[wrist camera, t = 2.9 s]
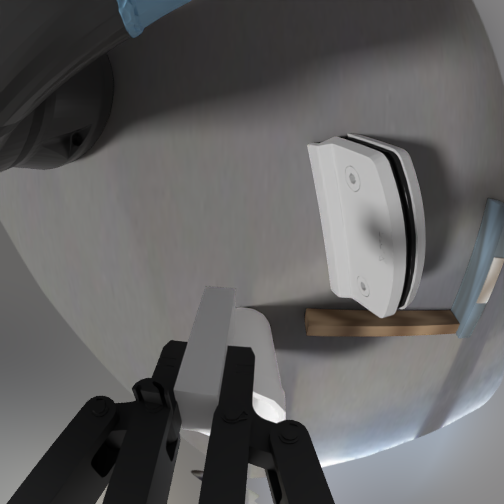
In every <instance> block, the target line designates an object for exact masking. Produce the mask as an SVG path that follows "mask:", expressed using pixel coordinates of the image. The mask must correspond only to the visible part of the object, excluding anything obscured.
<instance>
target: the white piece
mask: <svg viewBox="0 0 504 504" xmlns="http://www.w3.org/2000/svg"><path fill="white" fill-rule="evenodd" d="M307 147H308V151H309V156H310V161H311V167H312V172H313V177H314V182H315V188H316V193H317V199H318V205H319V211H320V217H321V223H322V229H323V235H324V242H325V248H326V255H327V262H328V270H329V277H330V285H331V290H332V291H333V292H334V293H335V294H336V295H337V296H338V297H342V298H353V299H354V300H356V301H357V302H358V303H360V304H361V305H363V306H364V307H365V308H367V309H368V310H370V311H371V312H372V313H374V314H375V315H377V316H378V317H379V318H384V317H387V316H391V315H393V314H395V312H396V310H397V309H405V308H406V307H407V306H408V305H409V304H410V303H411V302H412V301H413V299H414V297H415V295H416V293H417V290H418V287H419V284H420V281H421V277H422V272H423V267H424V259H425V246H426V233H425V218H424V209H423V202H422V197H421V192H420V187H419V183H418V180H417V176H416V172H415V169H414V166H413V163H412V160H411V158H410V156H409V154H408V152H407V151H406V150H404V149H402V148H399V147H396V146H393V145H391V144H388V143H385V142H382V141H379V140H375V139H372V138H369V137H366V136H363V135H359V134H348V137H347V138H346V139H343V138H340V137H337V136H335V137H332V138H330V139H328V140H326V141H323V142H321V143H310V144H307Z"/></svg>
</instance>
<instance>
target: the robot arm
mask: <svg viewBox="0 0 504 504" xmlns="http://www.w3.org/2000/svg"><path fill="white" fill-rule="evenodd" d="M190 1H191V0H0V172H2V171H4V170H7V169H9V168H12V167H18V168H30V169H42V170H45V169H53V168H57V167H60V166H62V165H65V164H67V163H70V162H72V161H74V160H76V159H78V158H79V157H81V156H82V155H83V154H85V153H86V152H87V151H88V150H89V149H90V148H91V147H92V145H93V144H94V143H95V142H96V140H97V139H98V137H99V136H100V134H101V132H102V131H103V129H104V127H105V124H106V122H107V119H108V117H109V113H110V110H111V106H112V100H113V89H114V82H113V73H112V68H111V64H110V61H109V59H108V56H107V54H106V52H108V51H109V50H111V49H112V48H114V47H115V46H117V45H118V44H120V43H122V42H123V41H125V40H127V39H128V38H130V37H132V38H135V37H137V36H139V35H140V34H141V33H142V32H143V30H144V28H145V27H147V26H148V25H150V24H151V23H153V22H154V21H156V20H158V19H159V18H161V17H163V16H164V15H166V14H168V13H170V12H171V11H173V10H175V9H177V8H179V7H181V6H182V5H184V4H186V3H188V2H190ZM235 302H236V288H224V287H211V286H206V287H205V290H204V293H203V296H202V299H201V302H200V305H199V308H198V312H197V315H196V318H195V321H194V324H193V327H192V331H191V334H190V337H189V340H188V342H182V341H174V340H170V341H169V342H168V343H167V344H166V345H165V346H164V347H163V349H162V352H161V355H160V358H159V360H158V363H157V365H156V368H155V371H154V373H153V376H152V378H146V379H142V380H140V381H138V382H137V383H135V385H134V386H133V388H132V390H133V393H134V396H135V398H136V401H133V402H127V403H114V401H113V400H111V399H110V398H109V397H106V396H96V397H93V398H91V399H90V400H89V401H88V402H86V404H85V405H84V406H83V407H82V408H81V410H80V411H79V412H78V413H77V415H76V416H75V417H74V419H72V421H71V422H70V423H69V424H68V426H67V427H66V428H65V430H64V431H63V432H62V433H61V434H60V436H59V437H58V438H57V439H56V441H55V442H54V443H53V444H52V446H51V447H50V448H49V450H48V451H47V452H46V453H45V455H44V456H43V457H42V459H41V460H40V461H39V462H38V464H37V465H36V466H35V467H34V469H33V470H32V471H31V473H30V474H29V475H28V477H27V478H26V479H25V480H24V482H23V483H22V484H21V486H20V487H19V488H18V489H17V491H16V492H15V494H14V495H13V496H12V497H11V499H10V500H9V501H8V503H7V504H95V503H96V502H97V500H98V499H99V497H100V496H101V494H102V493H103V491H104V490H105V488H106V486H107V485H108V487H107V491H106V494H105V497H104V500H103V504H167V500H168V495H169V491H170V486H171V481H172V477H173V472H174V467H175V463H176V458H177V454H178V449H179V445H180V434H179V432H180V428H181V424H182V428H183V429H185V430H192V431H199V432H207V433H210V437H209V443H208V449H207V455H206V462H205V467H204V473H203V479H202V485H201V491H200V498H199V504H245V494H246V481H247V469H248V463H250V464H253V465H256V466H258V467H261V468H264V469H265V472H266V476H267V480H268V483H269V487H270V491H271V495H272V498H273V503H274V504H335V503H334V500H333V498H332V495H331V492H330V489H329V487H328V484H327V482H326V479H325V476H324V473H323V471H322V468H321V465H320V463H319V460H318V457H317V454H316V452H315V449H314V446H313V444H312V441H311V438H310V435H309V433H308V431H307V429H306V427H305V426H304V425H302V424H301V423H300V422H297V421H294V420H283V421H281V422H278V423H275V422H272V421H269V420H266V419H264V418H262V417H260V416H259V415H258V414H257V413H256V412H255V410H254V408H253V404H252V399H253V384H254V369H255V354H254V352H253V350H252V348H251V347H241V346H233V340H234V334H235ZM108 483H109V484H108Z"/></svg>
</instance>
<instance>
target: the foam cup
mask: <svg viewBox="0 0 504 504" xmlns="http://www.w3.org/2000/svg"><path fill="white" fill-rule="evenodd" d="M233 346H241V347H251V348H252V350H253V352H254V354H255V369H254V384H253V399H252V404H253V408H254V410H255V412H256V413H257V414H258V415H259V416H260V417H262V418H264V419H266V420H269V421H272V422H275V423H278V422H281V421H283V420H285V391H284V390H283V389H282V385H281V380H280V375H279V369H278V364H277V359H276V354H275V348H274V343H273V338H272V333H271V328H270V323H269V321H268V320H267V319H266V317H265V316H264V314H262V313H260V312H258V311H256V310H255V309H251V308H244V307H239V308H235V334H234V340H233ZM201 433H203V434H206V435H208V436H210V433H207V432H201Z"/></svg>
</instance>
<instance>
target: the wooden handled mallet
mask: <svg viewBox="0 0 504 504" xmlns="http://www.w3.org/2000/svg"><path fill="white" fill-rule="evenodd" d="M503 262H504V203H502V202H501V201H499V200H495V199H491V198H488V199H487V203H486V208H485V211H484V215H483V219H482V223H481V226H480V230H479V233H478V237H477V240H476V243H475V246H474V249H473V253H472V256H471V259H470V261H469V264H468V267H467V270H466V273H465V276H464V278H463V281H462V284H461V286H460V289H459V291H458V294H457V296H456V299H455V301H454V304H453V306H452V308H451V310H428V311H396V312H395V314H393V315H391V316H387V317H384V318H379V317H378V316H377V315H375V314H374V313H372V312H371V311H370V310H337V309H310V308H306V313H305V318H304V319H305V327H306V334H307V336H413V335H435V334H452V333H456V335H457V336H458V338H468V337H470V336H471V334H472V332H473V330H474V328H475V326H476V324H477V322H478V320H479V318H480V316H481V314H482V311H483V309H484V307H485V305H486V303H487V302H488V300H489V297H490V295H491V293H492V290H493V288H494V286H495V283H496V281H497V278H498V276H499V273H500V270H501V268H502V265H503Z"/></svg>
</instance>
